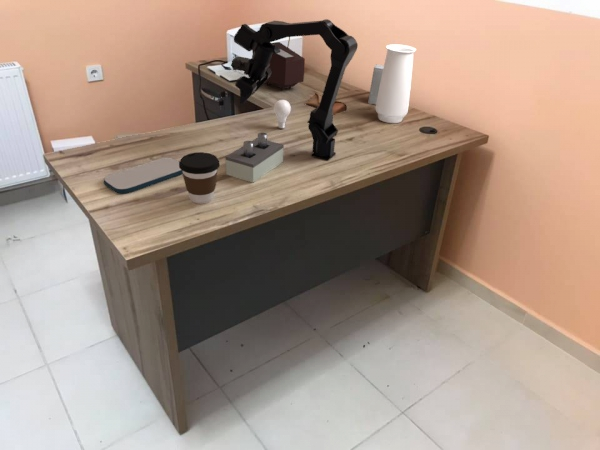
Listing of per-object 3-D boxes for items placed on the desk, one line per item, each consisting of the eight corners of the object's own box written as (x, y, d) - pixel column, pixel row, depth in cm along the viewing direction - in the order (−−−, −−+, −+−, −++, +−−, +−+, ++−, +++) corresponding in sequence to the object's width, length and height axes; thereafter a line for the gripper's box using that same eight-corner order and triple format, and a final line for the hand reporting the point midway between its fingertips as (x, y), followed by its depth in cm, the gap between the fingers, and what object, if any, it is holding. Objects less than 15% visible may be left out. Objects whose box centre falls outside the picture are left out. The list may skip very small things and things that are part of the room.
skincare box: (367, 104, 217) (372, 67, 208) (370, 99, 223) (375, 63, 214) (387, 106, 215) (392, 70, 206) (389, 102, 221) (394, 65, 212)
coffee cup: (174, 197, 140) (170, 158, 134) (206, 185, 147) (204, 148, 140) (196, 212, 134) (193, 172, 127) (229, 199, 140) (227, 161, 134)
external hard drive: (169, 161, 160) (168, 155, 159) (190, 173, 154) (189, 167, 153) (100, 183, 145) (99, 177, 144) (120, 198, 139) (119, 191, 138)
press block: (283, 161, 163) (283, 144, 160) (253, 182, 150) (253, 164, 146) (257, 154, 167) (257, 137, 164) (226, 174, 153) (225, 156, 150)
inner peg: (268, 150, 159) (268, 133, 156) (263, 153, 157) (263, 137, 154) (260, 147, 161) (260, 131, 158) (255, 151, 158) (255, 134, 155)
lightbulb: (290, 126, 190) (292, 98, 184) (288, 132, 185) (290, 103, 179) (274, 124, 191) (275, 96, 185) (272, 130, 185) (272, 102, 179)
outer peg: (255, 158, 153) (255, 142, 150) (249, 162, 151) (249, 145, 148) (247, 156, 154) (246, 140, 152) (241, 159, 152) (241, 143, 149)
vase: (406, 126, 196) (419, 53, 181) (373, 122, 198) (383, 50, 183) (405, 115, 207) (417, 45, 192) (374, 111, 209) (384, 42, 194)
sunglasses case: (302, 103, 213) (308, 88, 212) (310, 108, 218) (316, 94, 217) (334, 115, 203) (341, 99, 202) (342, 120, 208) (349, 105, 208)
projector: (277, 77, 244) (278, 23, 230) (307, 90, 229) (311, 33, 215) (249, 82, 234) (249, 26, 221) (279, 96, 220) (281, 37, 206)
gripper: (250, 39, 170) (236, 78, 179) (228, 55, 155) (214, 97, 165) (278, 55, 170) (263, 93, 180) (259, 72, 155) (244, 113, 165)
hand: (246, 98), depth 172 cm, fingers open, 9 cm apart
